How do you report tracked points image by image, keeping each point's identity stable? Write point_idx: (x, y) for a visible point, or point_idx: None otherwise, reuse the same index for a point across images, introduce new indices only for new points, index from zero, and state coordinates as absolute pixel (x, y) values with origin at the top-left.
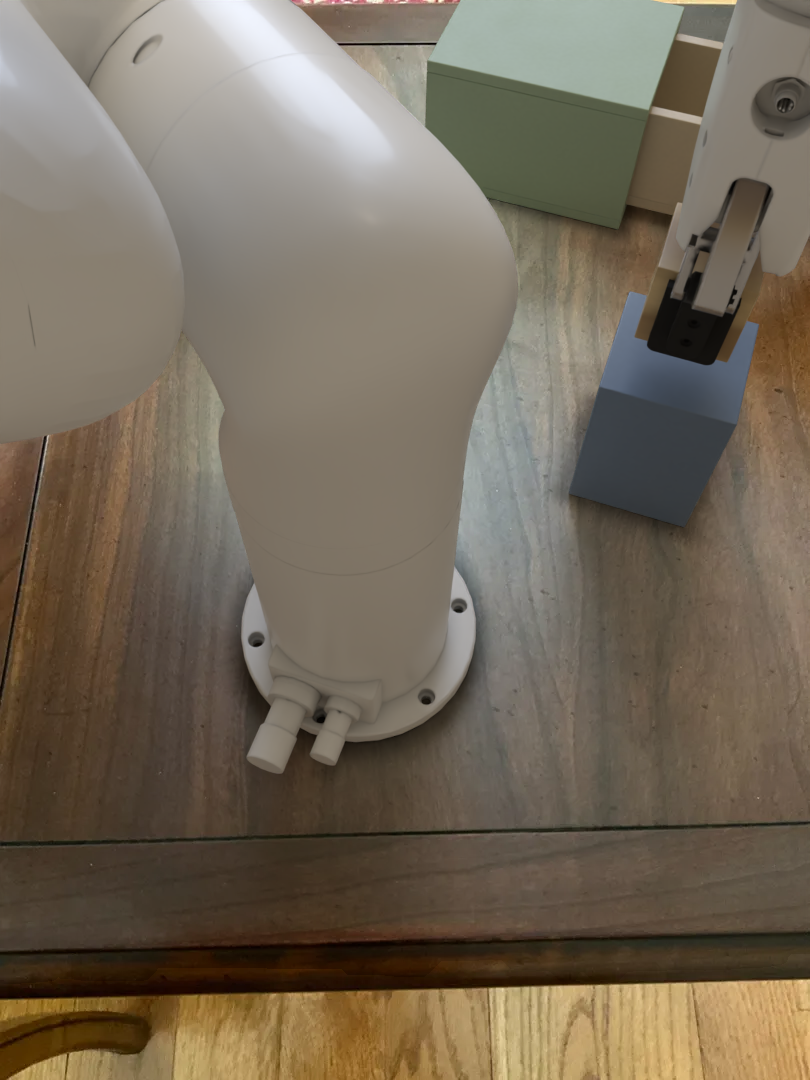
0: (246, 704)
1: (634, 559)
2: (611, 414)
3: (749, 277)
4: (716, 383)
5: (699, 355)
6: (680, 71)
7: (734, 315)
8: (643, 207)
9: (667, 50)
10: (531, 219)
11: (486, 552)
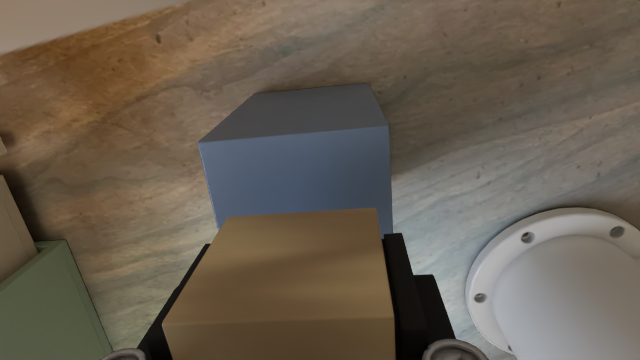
0: None
1: (419, 115)
2: None
3: (350, 340)
4: (329, 168)
5: (433, 276)
6: None
7: (420, 308)
8: (29, 235)
9: None
10: (105, 303)
11: (454, 227)
